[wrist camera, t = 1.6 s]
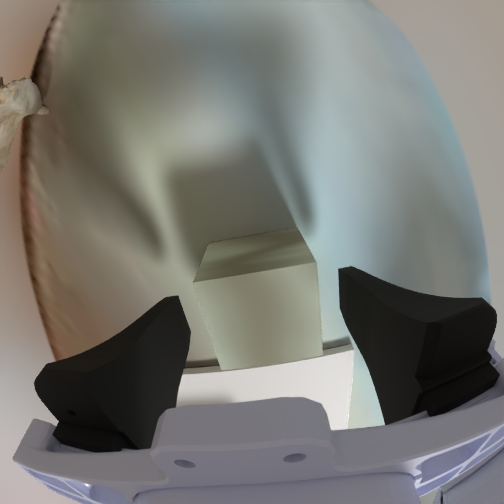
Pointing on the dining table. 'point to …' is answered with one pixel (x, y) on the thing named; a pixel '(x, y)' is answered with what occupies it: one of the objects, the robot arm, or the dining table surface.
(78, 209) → the dining table surface
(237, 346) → the sage block
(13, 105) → the beige lumpy piece
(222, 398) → the board
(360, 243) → the dining table surface
